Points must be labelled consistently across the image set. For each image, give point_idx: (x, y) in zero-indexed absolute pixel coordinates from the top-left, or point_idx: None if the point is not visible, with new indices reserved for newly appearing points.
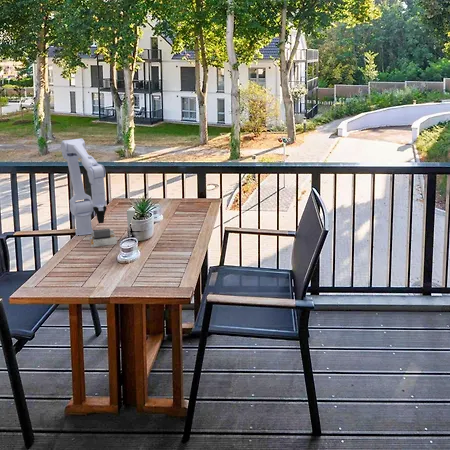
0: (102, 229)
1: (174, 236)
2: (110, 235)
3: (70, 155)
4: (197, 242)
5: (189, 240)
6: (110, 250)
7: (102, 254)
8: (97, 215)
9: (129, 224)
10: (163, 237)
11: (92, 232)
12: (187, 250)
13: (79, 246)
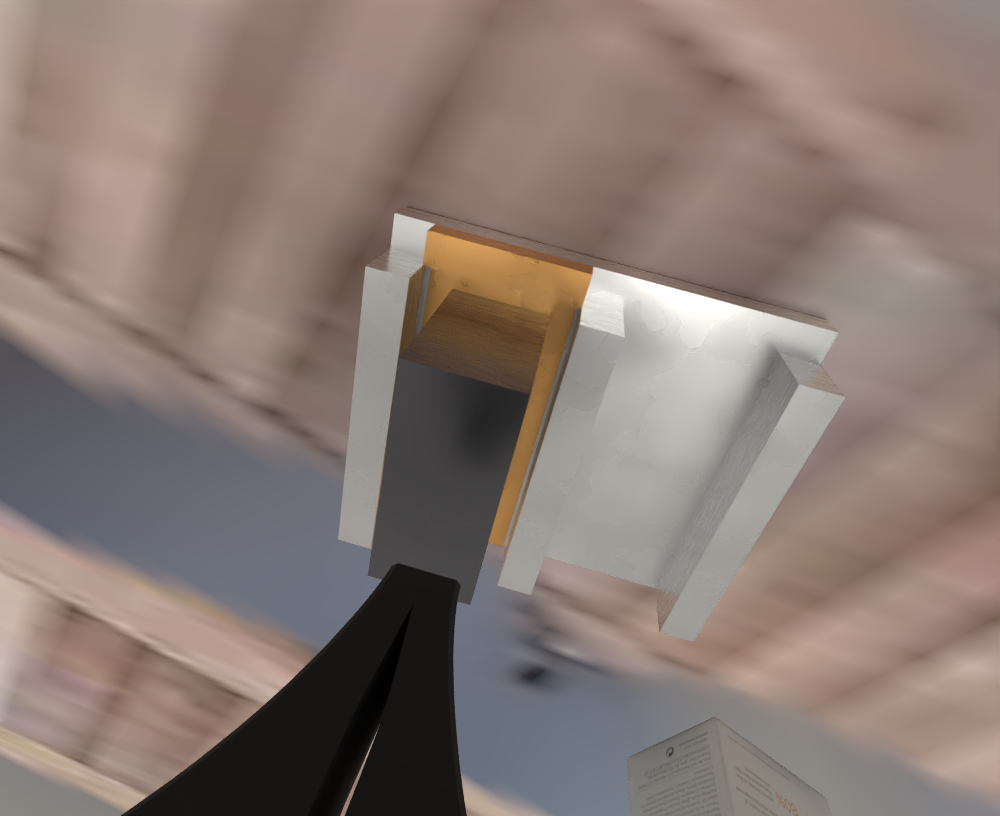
0: (474, 521)
1: None
2: (512, 535)
3: None
4: None
5: None
6: (172, 352)
7: (46, 219)
8: (244, 737)
9: (710, 806)
10: None
11: (813, 411)
12: (27, 721)
13: (546, 33)
